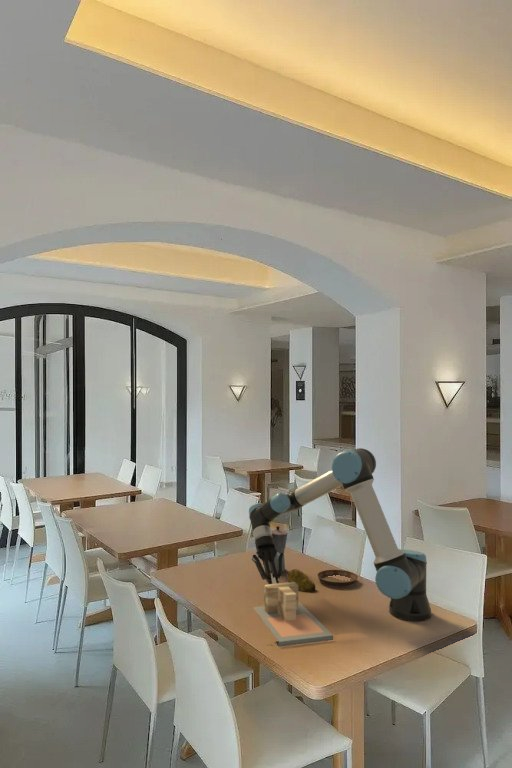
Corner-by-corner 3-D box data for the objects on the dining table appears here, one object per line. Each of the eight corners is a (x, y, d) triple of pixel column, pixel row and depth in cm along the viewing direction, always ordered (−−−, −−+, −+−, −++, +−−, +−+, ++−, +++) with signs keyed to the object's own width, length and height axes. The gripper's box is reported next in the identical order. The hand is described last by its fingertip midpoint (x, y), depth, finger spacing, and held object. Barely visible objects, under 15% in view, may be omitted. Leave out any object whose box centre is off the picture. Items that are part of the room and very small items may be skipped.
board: (252, 611, 200) (252, 607, 200) (299, 606, 205) (299, 602, 205) (278, 646, 171) (278, 641, 171) (333, 639, 177) (333, 635, 177)
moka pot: (292, 567, 253) (293, 525, 254) (276, 576, 240) (276, 531, 241) (275, 564, 258) (275, 522, 259) (258, 572, 245) (258, 528, 246)
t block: (263, 609, 198) (264, 584, 198) (294, 606, 201) (294, 581, 202) (274, 622, 186) (275, 596, 187) (306, 618, 190) (306, 593, 190)
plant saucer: (310, 578, 239) (310, 571, 240) (344, 574, 246) (344, 567, 246) (329, 591, 223) (329, 584, 223) (365, 586, 229) (365, 579, 229)
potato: (300, 597, 214) (301, 577, 215) (284, 587, 226) (284, 568, 226) (317, 594, 218) (318, 574, 219) (300, 584, 230) (300, 566, 230)
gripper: (276, 543, 221) (290, 598, 205) (246, 545, 218) (257, 601, 201) (281, 533, 216) (295, 589, 200) (250, 535, 213) (261, 592, 196)
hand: (276, 595), depth 201 cm, fingers closed
